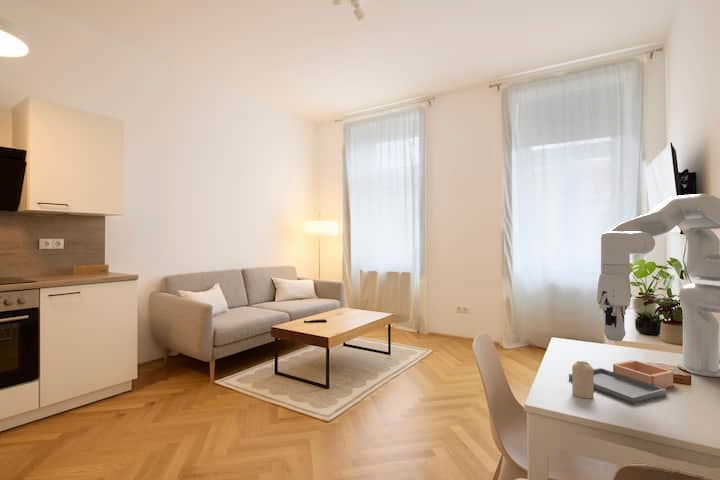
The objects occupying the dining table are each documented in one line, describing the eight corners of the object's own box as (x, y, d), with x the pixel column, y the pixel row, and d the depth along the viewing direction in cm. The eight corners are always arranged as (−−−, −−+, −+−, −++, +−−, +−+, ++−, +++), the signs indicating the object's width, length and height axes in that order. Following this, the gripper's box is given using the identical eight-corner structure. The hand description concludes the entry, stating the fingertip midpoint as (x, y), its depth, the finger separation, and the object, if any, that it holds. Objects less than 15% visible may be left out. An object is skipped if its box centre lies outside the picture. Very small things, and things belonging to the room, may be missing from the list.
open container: (634, 372, 129) (634, 359, 129) (675, 385, 117) (675, 371, 117) (611, 377, 124) (611, 364, 124) (651, 391, 112) (651, 376, 112)
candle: (586, 400, 106) (586, 366, 106) (568, 393, 111) (568, 361, 111) (597, 396, 108) (597, 363, 109) (579, 389, 113) (579, 358, 113)
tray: (600, 373, 128) (600, 367, 128) (666, 395, 109) (666, 389, 109) (569, 379, 122) (569, 373, 122) (632, 404, 103) (632, 397, 103)
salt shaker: (629, 342, 112) (629, 301, 112) (608, 341, 113) (609, 300, 113) (619, 337, 118) (620, 298, 118) (600, 336, 119) (600, 297, 119)
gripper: (619, 268, 122) (619, 322, 122) (586, 269, 116) (586, 326, 116) (643, 270, 115) (643, 327, 115) (610, 271, 109) (609, 332, 109)
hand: (614, 326), depth 115 cm, fingers closed on salt shaker, 3 cm apart
